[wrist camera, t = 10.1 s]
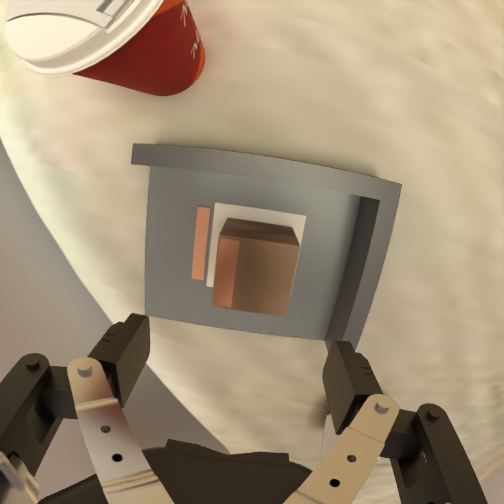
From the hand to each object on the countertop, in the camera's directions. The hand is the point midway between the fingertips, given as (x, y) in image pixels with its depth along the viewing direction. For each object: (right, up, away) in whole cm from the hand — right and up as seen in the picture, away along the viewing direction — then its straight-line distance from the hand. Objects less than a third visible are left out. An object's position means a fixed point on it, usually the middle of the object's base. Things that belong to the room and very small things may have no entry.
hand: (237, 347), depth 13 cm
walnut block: (+1, +4, +12) cm, 12 cm away
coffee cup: (-6, +19, +8) cm, 22 cm away
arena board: (+1, +4, +12) cm, 13 cm away
